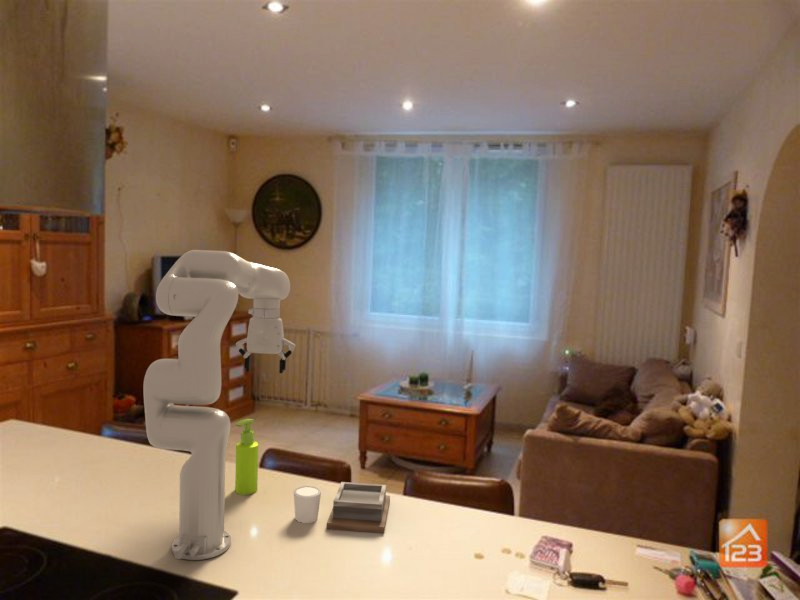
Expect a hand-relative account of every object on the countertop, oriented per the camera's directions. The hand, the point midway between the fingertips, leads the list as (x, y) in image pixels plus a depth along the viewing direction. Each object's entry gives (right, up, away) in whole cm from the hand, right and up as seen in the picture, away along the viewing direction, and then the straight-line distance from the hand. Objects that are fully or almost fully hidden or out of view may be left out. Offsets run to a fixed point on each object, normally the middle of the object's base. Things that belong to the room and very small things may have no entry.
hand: (265, 371), depth 172 cm
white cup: (+16, -34, -25) cm, 45 cm away
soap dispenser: (-3, -32, -11) cm, 34 cm away
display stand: (+29, -34, -22) cm, 50 cm away
